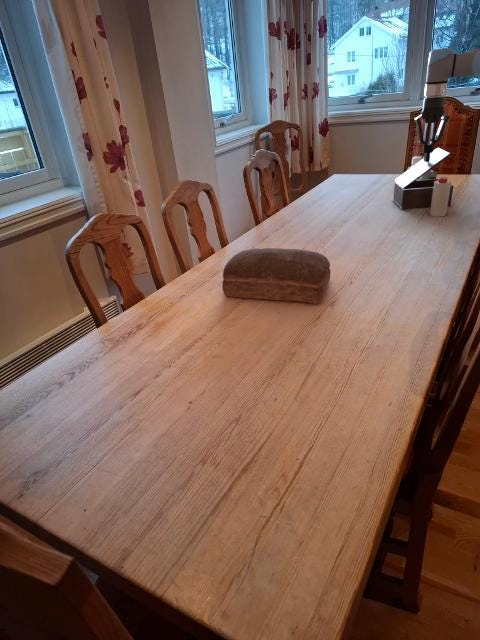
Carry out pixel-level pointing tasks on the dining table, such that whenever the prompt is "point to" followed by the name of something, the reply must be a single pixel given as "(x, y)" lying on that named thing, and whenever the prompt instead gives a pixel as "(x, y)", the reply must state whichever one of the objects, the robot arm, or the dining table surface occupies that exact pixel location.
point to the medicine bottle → (415, 161)
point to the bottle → (440, 197)
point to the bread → (277, 275)
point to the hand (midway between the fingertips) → (426, 161)
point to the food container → (429, 175)
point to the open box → (416, 195)
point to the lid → (422, 168)
